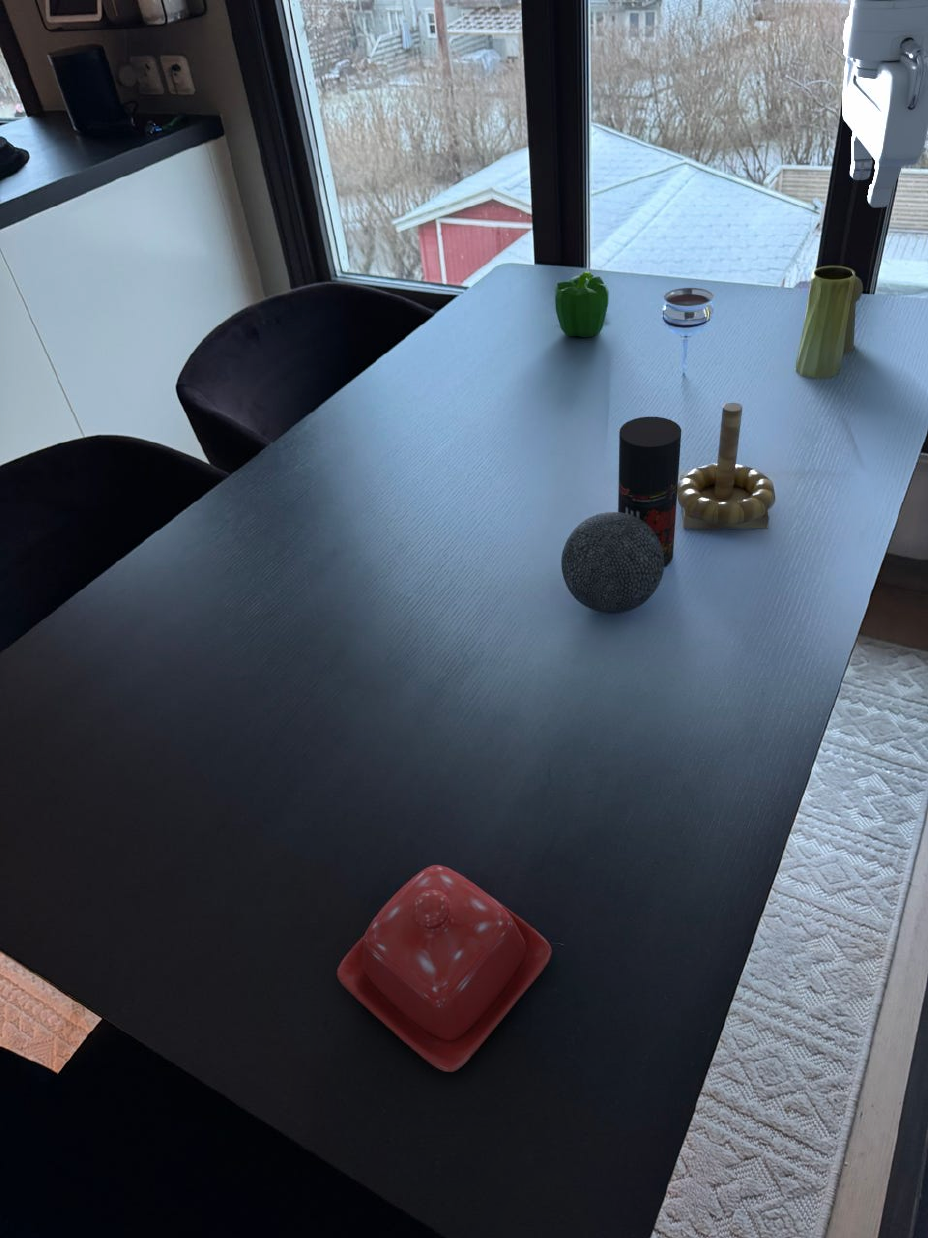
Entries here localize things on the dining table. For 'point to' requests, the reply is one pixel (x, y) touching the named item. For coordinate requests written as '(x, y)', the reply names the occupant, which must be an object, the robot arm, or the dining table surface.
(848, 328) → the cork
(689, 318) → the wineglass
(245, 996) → the dining table surface
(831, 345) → the vase
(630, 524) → the decorative ball
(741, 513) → the ring
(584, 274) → the bell pepper
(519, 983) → the butter dish
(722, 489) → the post
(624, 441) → the deodorant
